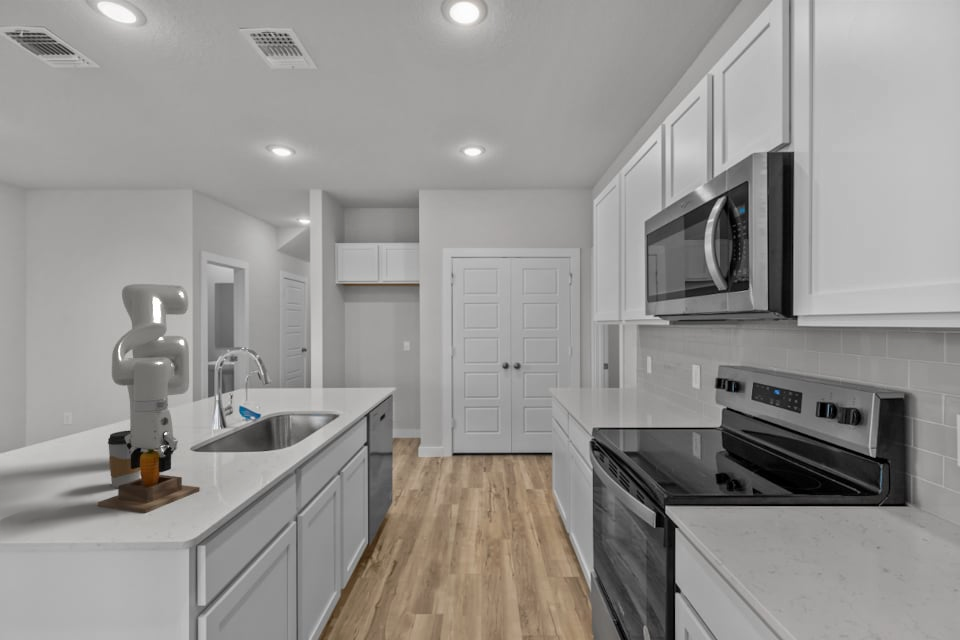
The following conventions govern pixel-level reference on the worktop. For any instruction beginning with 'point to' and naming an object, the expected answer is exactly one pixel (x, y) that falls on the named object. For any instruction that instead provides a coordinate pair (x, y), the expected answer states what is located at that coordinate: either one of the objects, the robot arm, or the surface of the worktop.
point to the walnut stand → (148, 494)
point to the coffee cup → (121, 460)
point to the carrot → (149, 467)
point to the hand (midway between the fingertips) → (150, 469)
